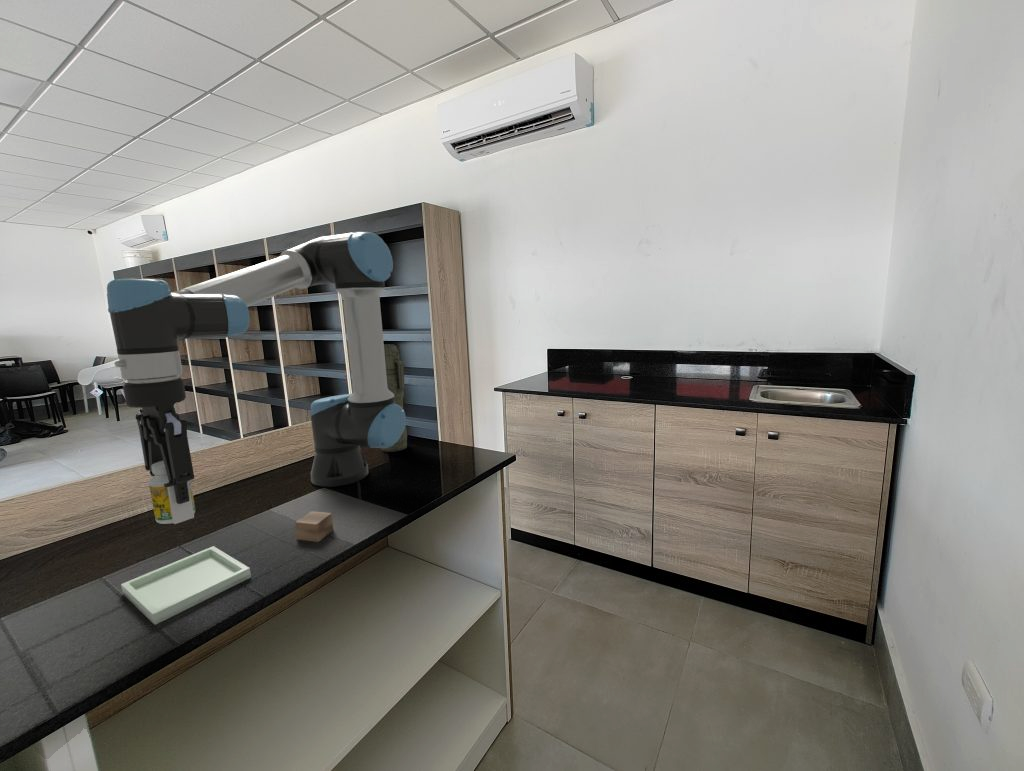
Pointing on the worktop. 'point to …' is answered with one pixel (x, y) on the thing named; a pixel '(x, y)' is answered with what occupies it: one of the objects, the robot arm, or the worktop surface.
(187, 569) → the tray
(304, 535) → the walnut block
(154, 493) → the supplement bottle
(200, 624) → the worktop surface
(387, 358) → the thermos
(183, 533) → the worktop surface
